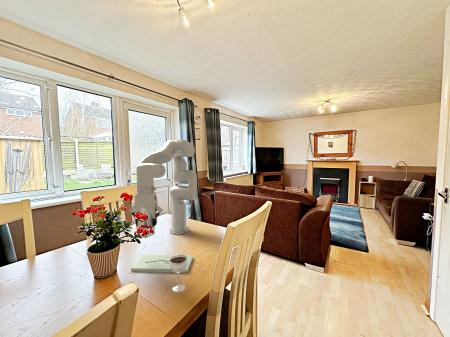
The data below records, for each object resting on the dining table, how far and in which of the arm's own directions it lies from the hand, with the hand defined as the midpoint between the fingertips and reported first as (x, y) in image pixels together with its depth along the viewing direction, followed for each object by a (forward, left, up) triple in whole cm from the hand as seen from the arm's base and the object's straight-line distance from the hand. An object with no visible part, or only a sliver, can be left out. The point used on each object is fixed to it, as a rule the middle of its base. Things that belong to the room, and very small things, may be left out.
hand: (146, 225), depth 95 cm
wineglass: (+18, +21, -19) cm, 33 cm away
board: (+2, +9, -19) cm, 21 cm away
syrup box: (0, 0, -5) cm, 5 cm away
